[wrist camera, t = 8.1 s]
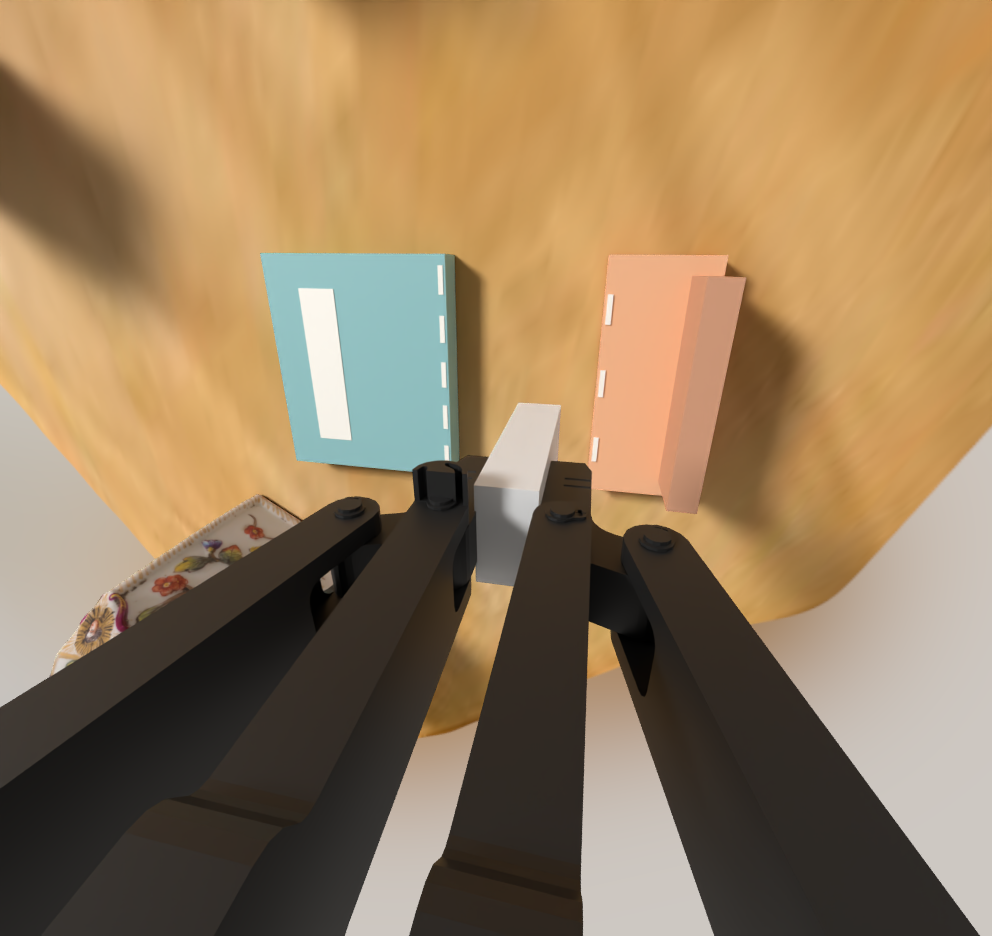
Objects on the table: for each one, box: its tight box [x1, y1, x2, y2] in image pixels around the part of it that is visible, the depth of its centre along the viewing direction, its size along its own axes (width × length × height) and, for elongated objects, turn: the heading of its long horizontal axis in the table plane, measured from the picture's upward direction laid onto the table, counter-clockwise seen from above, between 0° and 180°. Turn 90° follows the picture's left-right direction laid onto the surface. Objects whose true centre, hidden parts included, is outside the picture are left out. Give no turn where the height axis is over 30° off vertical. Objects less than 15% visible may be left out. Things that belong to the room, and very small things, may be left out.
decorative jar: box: [50, 494, 333, 676], centre depth 34 cm, size 12×12×18 cm
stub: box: [588, 255, 746, 514], centre depth 26 cm, size 14×6×6 cm, turn 179°
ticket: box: [260, 253, 459, 472], centre depth 31 cm, size 14×12×2 cm
